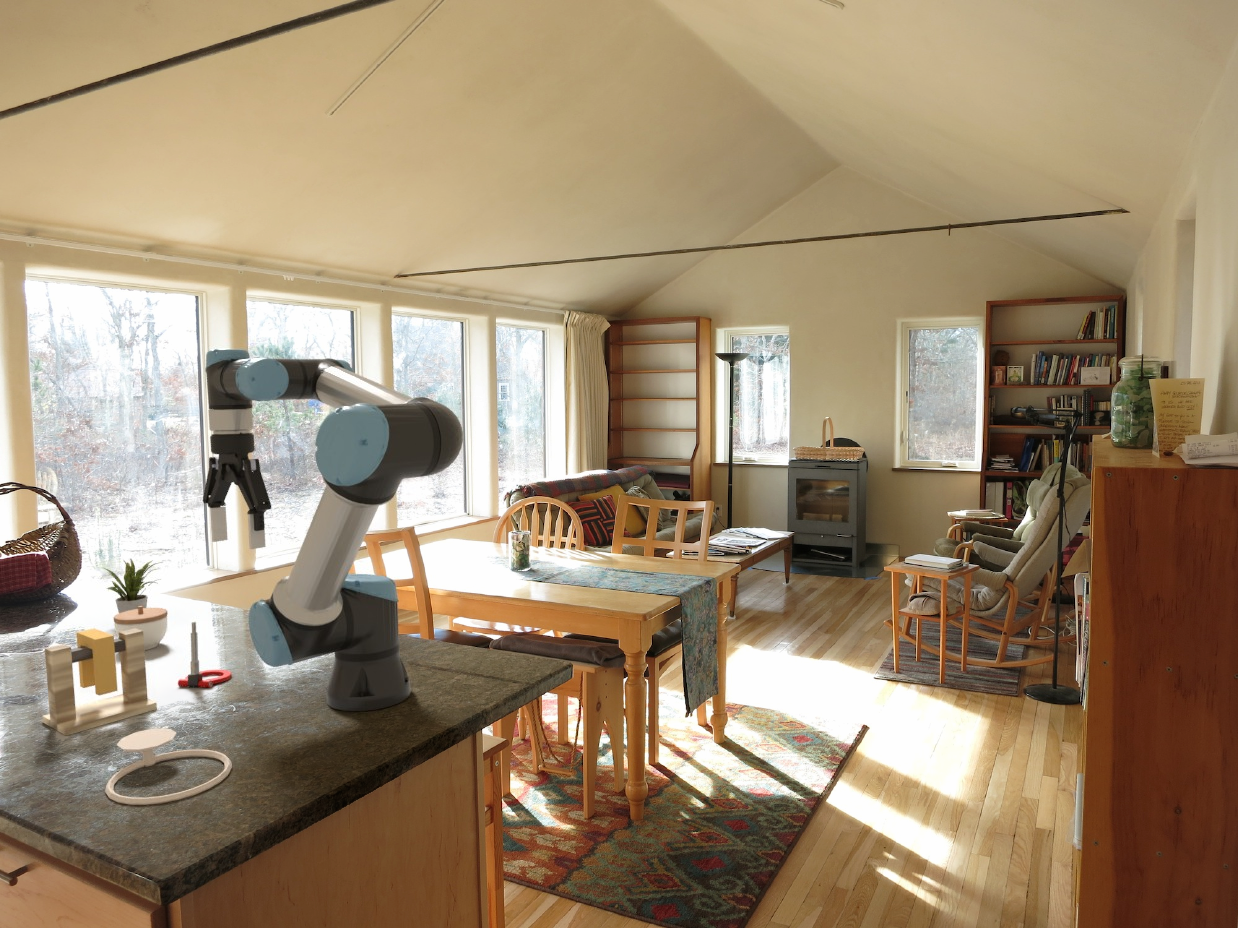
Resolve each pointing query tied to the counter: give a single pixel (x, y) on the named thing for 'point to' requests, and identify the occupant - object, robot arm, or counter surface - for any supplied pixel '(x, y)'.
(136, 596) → the house plant
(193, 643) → the tow hook
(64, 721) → the wooden crossbar stand
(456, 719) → the counter surface
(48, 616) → the counter surface
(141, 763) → the hand towel holder
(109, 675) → the yellow u-shaped bracket
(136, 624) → the lidded jar
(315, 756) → the counter surface
